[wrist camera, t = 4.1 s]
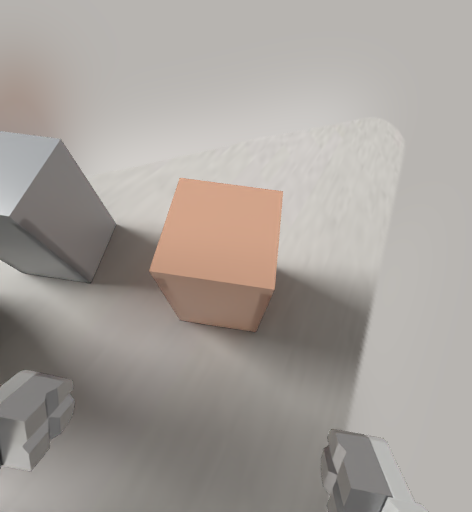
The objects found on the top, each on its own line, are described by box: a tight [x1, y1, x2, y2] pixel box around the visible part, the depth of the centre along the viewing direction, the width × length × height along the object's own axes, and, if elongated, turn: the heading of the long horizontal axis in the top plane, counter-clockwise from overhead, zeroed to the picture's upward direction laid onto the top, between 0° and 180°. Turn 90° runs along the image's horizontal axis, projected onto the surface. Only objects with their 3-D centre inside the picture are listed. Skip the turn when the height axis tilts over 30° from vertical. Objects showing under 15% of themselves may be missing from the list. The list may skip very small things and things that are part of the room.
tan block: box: [149, 178, 283, 332], centre depth 19 cm, size 6×6×10 cm
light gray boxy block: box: [0, 131, 116, 283], centre depth 21 cm, size 6×6×10 cm
